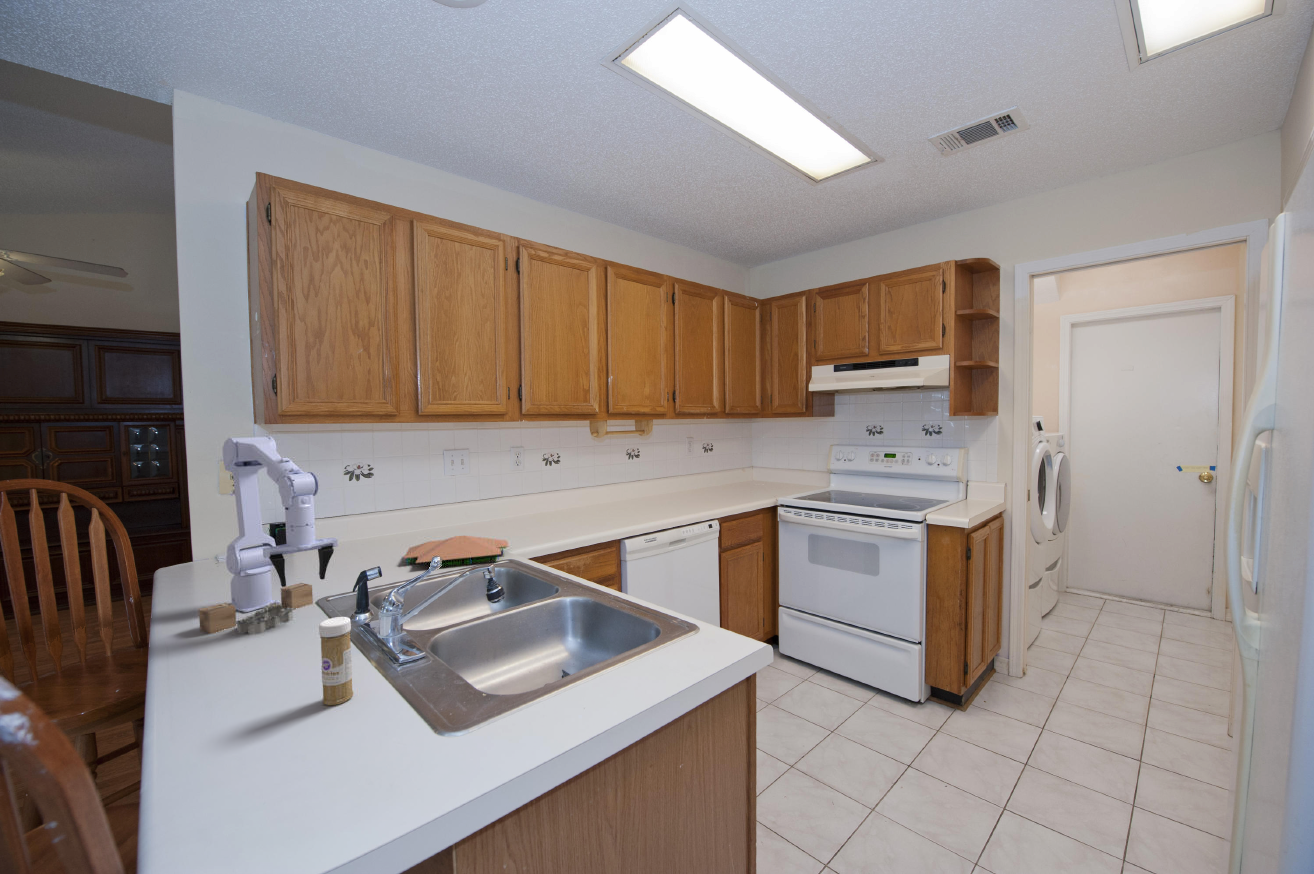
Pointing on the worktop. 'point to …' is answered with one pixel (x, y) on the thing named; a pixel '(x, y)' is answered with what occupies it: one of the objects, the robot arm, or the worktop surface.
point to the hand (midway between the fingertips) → (303, 582)
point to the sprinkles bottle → (336, 660)
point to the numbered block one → (296, 595)
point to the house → (457, 549)
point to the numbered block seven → (217, 618)
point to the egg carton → (265, 619)
